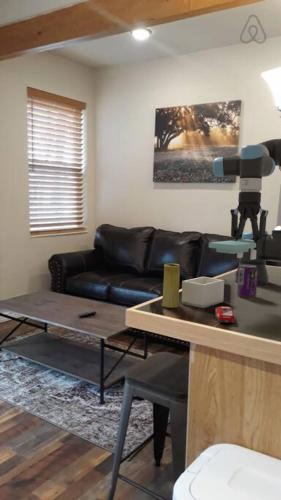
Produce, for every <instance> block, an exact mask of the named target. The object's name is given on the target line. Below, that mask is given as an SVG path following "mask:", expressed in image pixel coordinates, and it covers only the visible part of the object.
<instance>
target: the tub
mask: <svg viewBox="0 0 281 500" xmlns="http://www.w3.org/2000/svg"><path fill="white" fill-rule="evenodd" d="M181 284H182V285H181V304H183V305H187V306H190V307H191V306H192V307H197V308H201V309H206V308H208V307H211V305H212V306H214V305H217V304H220V303H221V304H222V303H224V295H225V294H224V292H225V279H220V278H214V277H209V276H208V277H207V276H200V277H196V278H191V279H186V280H182V281H181Z"/></svg>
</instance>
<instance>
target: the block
mask: <svg viewBox="0 0 281 500" xmlns="http://www.w3.org/2000/svg"><path fill="white" fill-rule="evenodd" d="M251 241H253V240H249V239H243V240H237V241H236V240H224V241H213V242H208V248H209V249H216V250H215V252H216V253H222V254H223V253H224V254H231V255H234V254H237V253H242V252H248V249H249V248H256V243H252V242H251Z"/></svg>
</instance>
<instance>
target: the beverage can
mask: <svg viewBox="0 0 281 500" xmlns="http://www.w3.org/2000/svg"><path fill="white" fill-rule="evenodd" d="M257 272H258V271H257V268H256V266H255V265H246V264H244V265H240V268H239V270H238V282H237V288H236V289H237V293H236V294H237V296H239V297H241V298H245V299H252V298H254V297H256V296H257V289H258V288H257V287H258V286H257Z"/></svg>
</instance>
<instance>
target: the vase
mask: <svg viewBox="0 0 281 500" xmlns="http://www.w3.org/2000/svg"><path fill="white" fill-rule="evenodd" d="M180 267H181V265H180V264H178V263H164V266H163V284H162V285H163V286H162V301H161V306H162V307H164V308H168V309H169V308H170V309H176V308H179V307H180V305H181V304H180V272H181V270H180V269H181V268H180Z"/></svg>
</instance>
